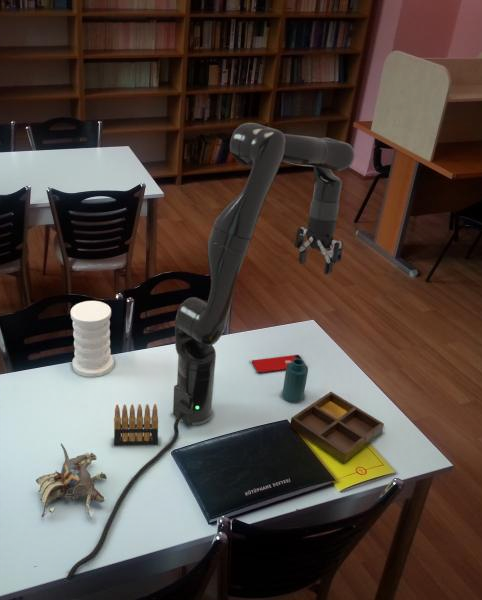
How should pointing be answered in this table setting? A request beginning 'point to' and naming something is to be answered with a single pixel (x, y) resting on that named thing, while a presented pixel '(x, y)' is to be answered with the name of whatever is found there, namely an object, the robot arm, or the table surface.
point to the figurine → (71, 482)
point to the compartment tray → (336, 426)
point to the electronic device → (274, 363)
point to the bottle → (295, 381)
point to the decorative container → (91, 338)
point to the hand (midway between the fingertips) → (314, 268)
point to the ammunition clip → (135, 427)
